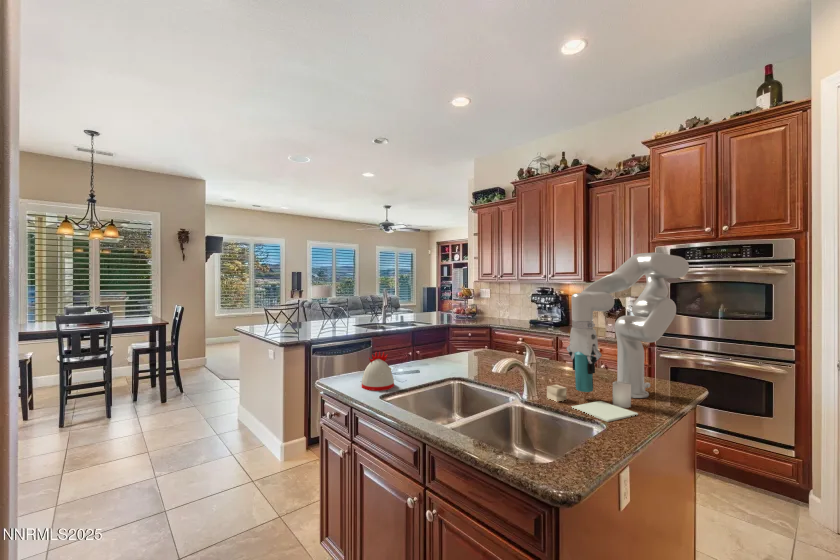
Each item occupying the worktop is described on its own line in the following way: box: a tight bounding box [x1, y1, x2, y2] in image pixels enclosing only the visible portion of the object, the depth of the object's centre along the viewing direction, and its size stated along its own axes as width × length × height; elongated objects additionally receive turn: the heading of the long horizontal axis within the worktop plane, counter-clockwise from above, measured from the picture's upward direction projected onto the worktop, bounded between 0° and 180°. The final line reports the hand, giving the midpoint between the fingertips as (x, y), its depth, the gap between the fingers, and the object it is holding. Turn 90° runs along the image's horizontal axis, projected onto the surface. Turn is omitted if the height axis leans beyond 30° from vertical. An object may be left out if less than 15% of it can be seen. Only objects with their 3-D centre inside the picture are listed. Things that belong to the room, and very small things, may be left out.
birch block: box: [546, 384, 567, 403], centre depth 148 cm, size 5×5×5 cm
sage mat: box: [570, 400, 639, 423], centre depth 134 cm, size 15×15×1 cm
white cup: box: [612, 380, 632, 409], centre depth 141 cm, size 6×6×8 cm
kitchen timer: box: [361, 351, 395, 392], centre depth 166 cm, size 14×14×15 cm
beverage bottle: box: [574, 352, 594, 393], centre depth 148 cm, size 6×7×20 cm
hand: (583, 371), depth 148 cm, fingers closed on beverage bottle, 6 cm apart
